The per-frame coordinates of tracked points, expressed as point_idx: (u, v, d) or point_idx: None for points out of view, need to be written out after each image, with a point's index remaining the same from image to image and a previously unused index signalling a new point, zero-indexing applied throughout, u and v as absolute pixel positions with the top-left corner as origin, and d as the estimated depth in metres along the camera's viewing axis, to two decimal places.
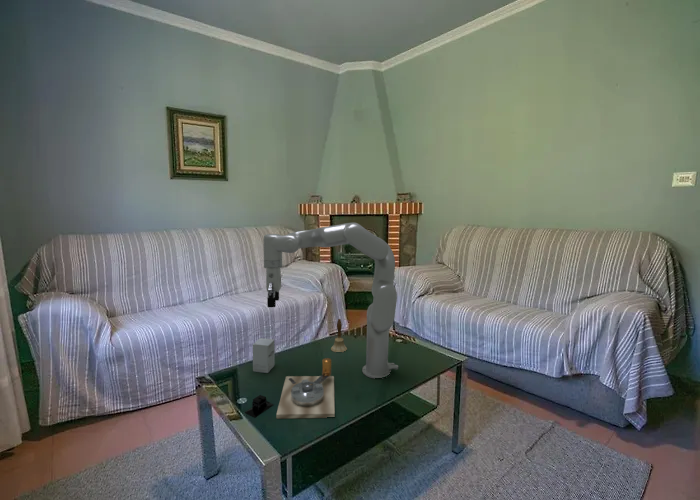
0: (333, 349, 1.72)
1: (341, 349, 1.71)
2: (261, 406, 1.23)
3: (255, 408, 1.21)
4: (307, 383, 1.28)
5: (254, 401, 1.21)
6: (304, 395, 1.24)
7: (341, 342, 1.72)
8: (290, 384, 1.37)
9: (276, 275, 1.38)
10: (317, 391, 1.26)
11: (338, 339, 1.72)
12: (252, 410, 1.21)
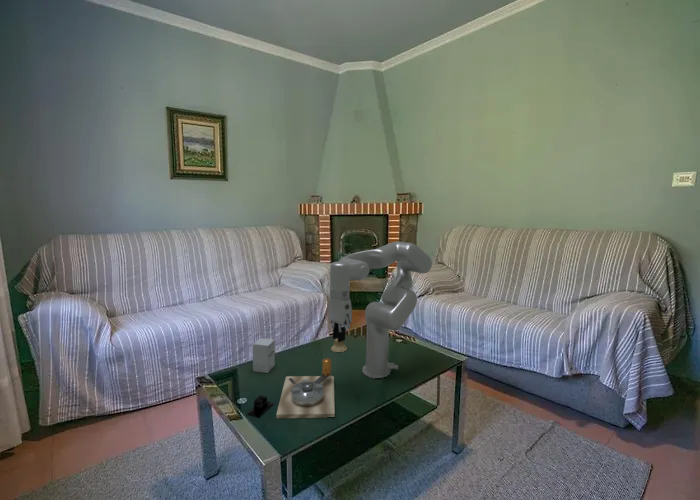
0: (333, 349, 1.72)
1: (341, 349, 1.71)
2: (262, 406, 1.23)
3: (257, 409, 1.21)
4: (307, 383, 1.28)
5: (256, 402, 1.21)
6: (304, 395, 1.24)
7: (341, 342, 1.72)
8: (290, 384, 1.37)
9: (350, 306, 1.29)
10: (317, 391, 1.26)
11: None
12: (254, 411, 1.21)
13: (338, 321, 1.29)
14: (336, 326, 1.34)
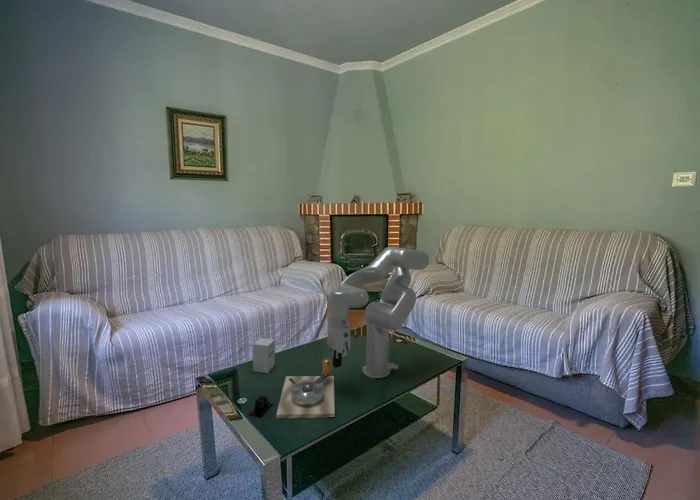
0: None
1: None
2: (263, 406, 1.23)
3: (258, 409, 1.21)
4: (307, 383, 1.28)
5: (257, 402, 1.21)
6: (304, 395, 1.24)
7: None
8: (290, 384, 1.37)
9: (349, 333, 1.31)
10: (317, 391, 1.26)
11: None
12: (255, 411, 1.21)
13: (336, 349, 1.31)
14: None
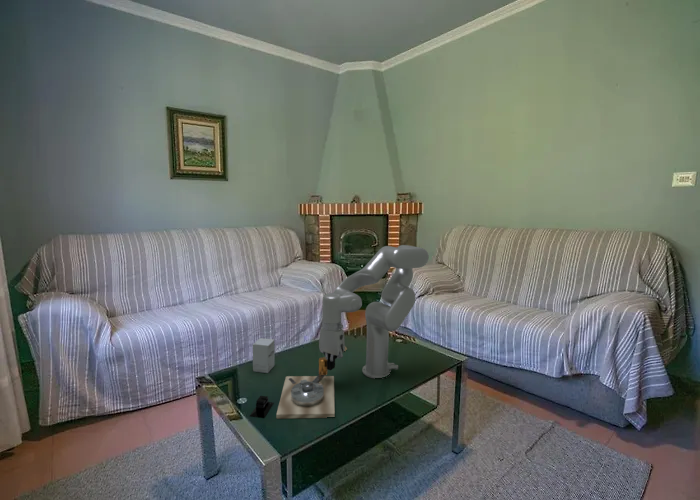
0: None
1: None
2: (264, 406, 1.23)
3: (260, 409, 1.21)
4: (307, 383, 1.28)
5: (258, 402, 1.21)
6: (305, 395, 1.24)
7: None
8: (290, 384, 1.37)
9: (343, 335, 1.35)
10: (317, 390, 1.27)
11: None
12: (257, 412, 1.20)
13: (332, 352, 1.34)
14: (329, 356, 1.38)
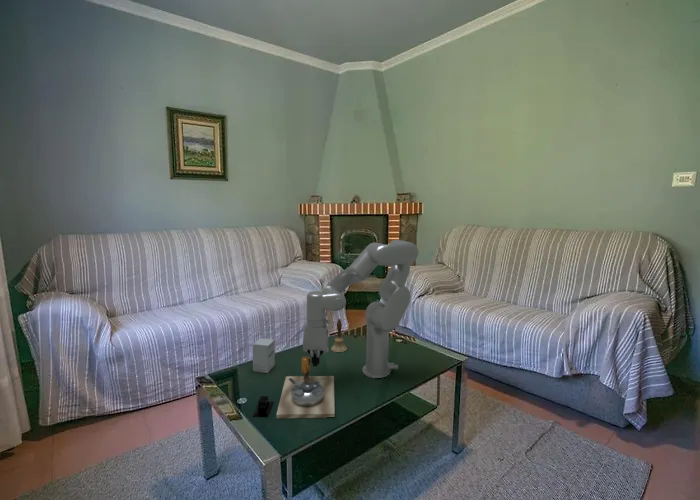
0: (333, 349, 1.72)
1: (341, 349, 1.71)
2: None
3: (262, 409, 1.21)
4: (306, 383, 1.28)
5: (260, 402, 1.21)
6: (311, 395, 1.24)
7: (341, 342, 1.72)
8: (290, 384, 1.37)
9: None
10: (317, 387, 1.29)
11: (338, 339, 1.72)
12: (259, 412, 1.20)
13: (320, 348, 1.37)
14: (314, 353, 1.40)
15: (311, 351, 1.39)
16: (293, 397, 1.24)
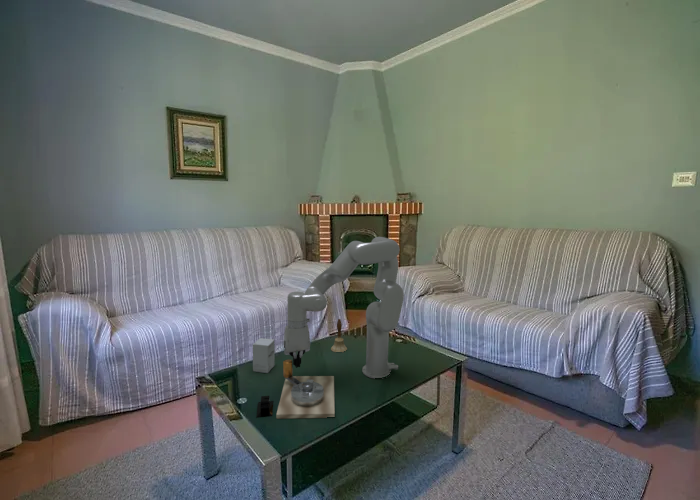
0: (333, 349, 1.72)
1: (341, 349, 1.71)
2: None
3: (265, 409, 1.21)
4: (305, 384, 1.27)
5: (263, 402, 1.21)
6: (315, 392, 1.25)
7: (341, 342, 1.72)
8: (290, 384, 1.37)
9: None
10: (314, 385, 1.31)
11: (338, 339, 1.72)
12: (262, 412, 1.20)
13: (304, 347, 1.38)
14: (295, 355, 1.39)
15: (294, 353, 1.37)
16: (300, 400, 1.22)
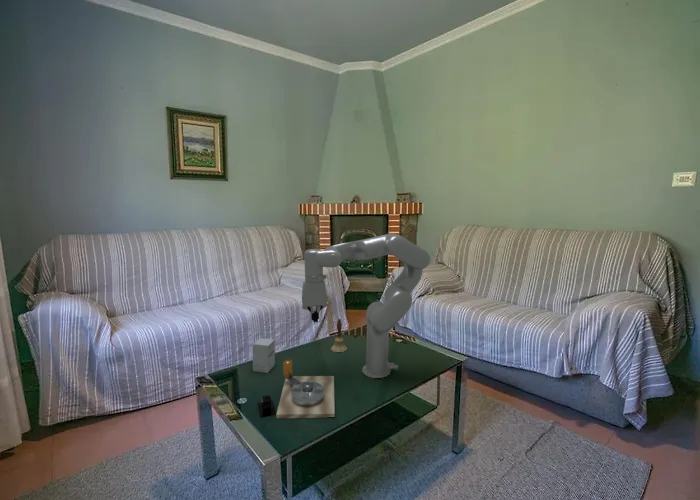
0: (333, 349, 1.72)
1: (341, 349, 1.71)
2: None
3: (267, 408, 1.21)
4: (305, 384, 1.27)
5: (265, 402, 1.21)
6: (315, 392, 1.25)
7: (341, 342, 1.72)
8: (290, 384, 1.37)
9: None
10: (314, 385, 1.31)
11: (338, 339, 1.72)
12: (264, 412, 1.20)
13: (321, 303, 1.42)
14: (313, 310, 1.43)
15: (312, 308, 1.42)
16: (300, 400, 1.22)
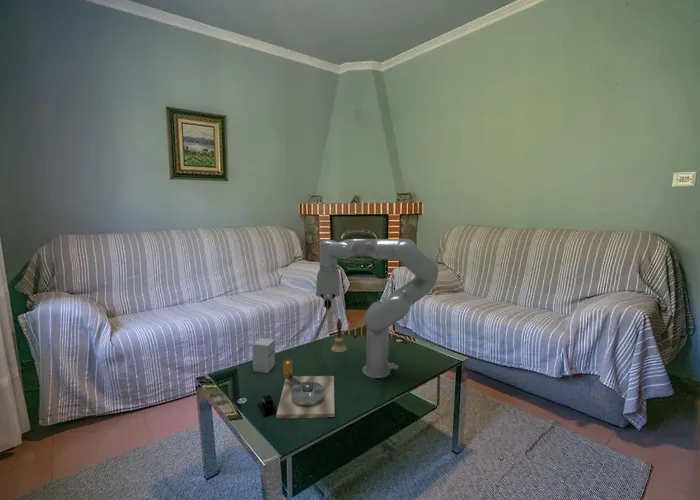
0: (333, 349, 1.72)
1: (341, 349, 1.71)
2: None
3: (269, 408, 1.21)
4: (305, 384, 1.27)
5: (267, 402, 1.21)
6: (315, 392, 1.25)
7: (341, 342, 1.72)
8: (290, 384, 1.37)
9: None
10: (314, 385, 1.31)
11: (338, 339, 1.72)
12: (267, 412, 1.21)
13: (333, 291, 1.49)
14: (326, 298, 1.52)
15: (324, 295, 1.50)
16: (300, 400, 1.22)
